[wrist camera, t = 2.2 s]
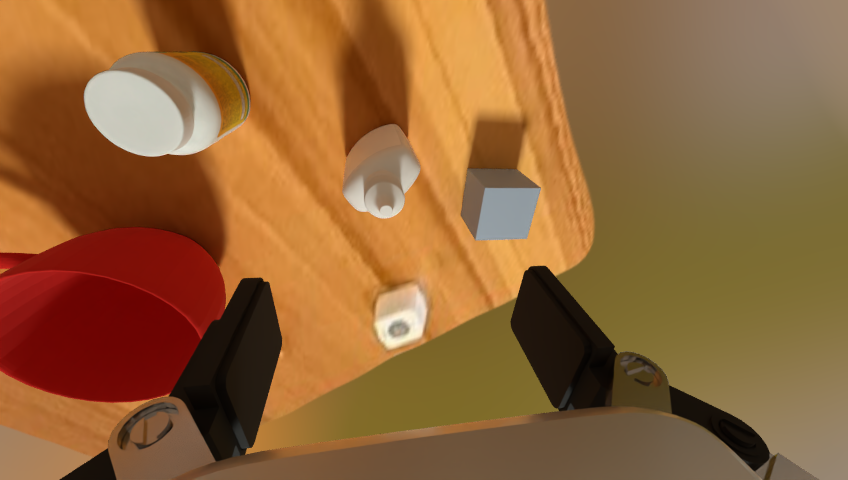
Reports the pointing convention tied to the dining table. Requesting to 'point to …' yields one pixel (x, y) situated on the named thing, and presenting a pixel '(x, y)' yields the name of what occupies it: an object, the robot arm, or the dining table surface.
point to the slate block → (498, 203)
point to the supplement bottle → (167, 102)
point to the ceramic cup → (107, 313)
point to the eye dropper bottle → (380, 171)
